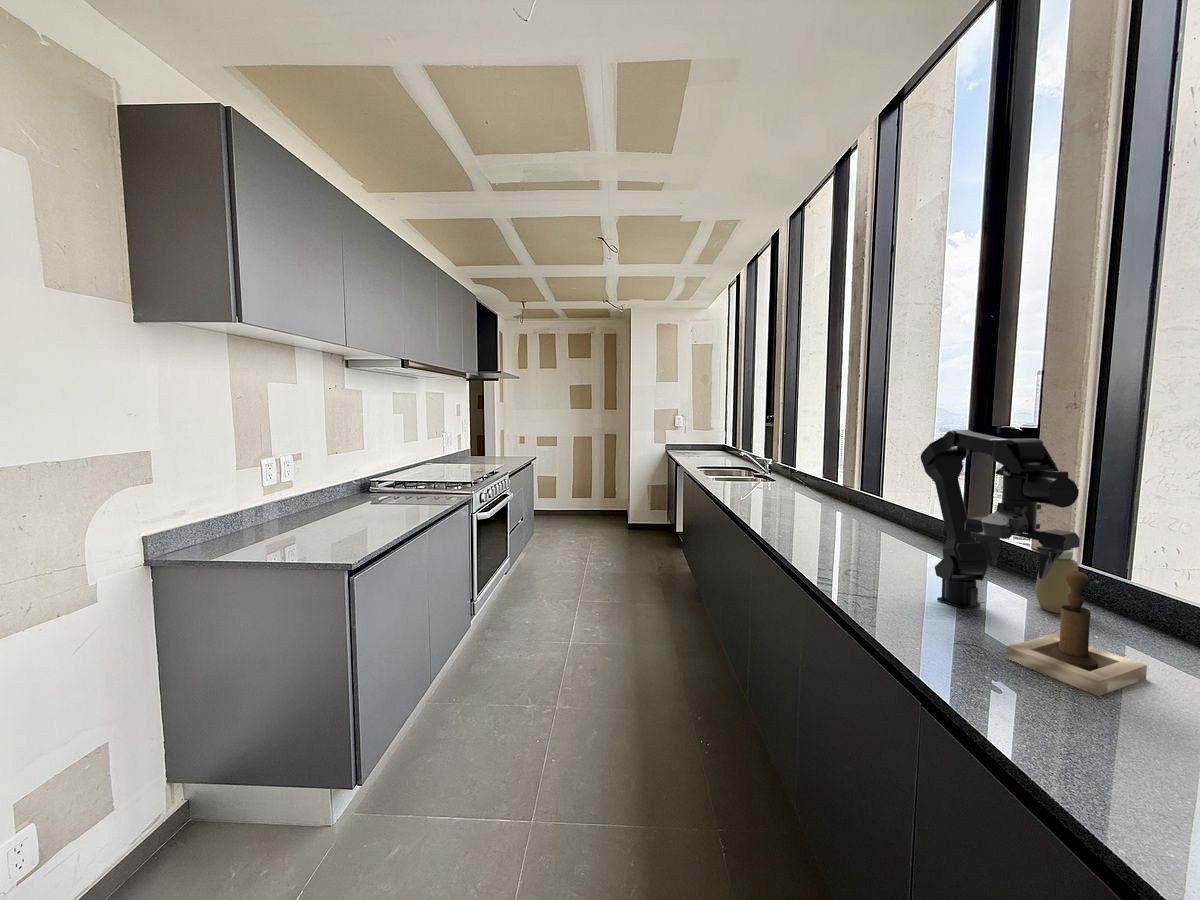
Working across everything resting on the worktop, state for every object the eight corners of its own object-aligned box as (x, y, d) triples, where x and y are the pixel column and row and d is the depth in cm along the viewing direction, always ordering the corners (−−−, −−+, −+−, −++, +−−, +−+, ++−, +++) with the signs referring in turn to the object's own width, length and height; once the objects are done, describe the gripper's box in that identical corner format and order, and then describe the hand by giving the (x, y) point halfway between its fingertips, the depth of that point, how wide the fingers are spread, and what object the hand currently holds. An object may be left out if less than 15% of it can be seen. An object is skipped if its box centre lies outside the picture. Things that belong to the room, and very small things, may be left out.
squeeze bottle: (1070, 619, 116) (1074, 540, 115) (1027, 607, 124) (1030, 533, 122) (1086, 612, 120) (1090, 535, 119) (1043, 601, 127) (1047, 528, 126)
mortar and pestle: (1042, 665, 96) (1046, 569, 95) (1057, 656, 100) (1062, 564, 98) (1089, 680, 91) (1094, 579, 89) (1103, 671, 94) (1109, 573, 92)
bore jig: (1006, 659, 99) (1006, 646, 99) (1052, 645, 104) (1053, 633, 104) (1098, 696, 86) (1099, 681, 86) (1146, 679, 91) (1146, 665, 91)
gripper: (948, 495, 114) (946, 565, 115) (1046, 509, 97) (1043, 591, 98) (982, 491, 118) (980, 559, 119) (1083, 504, 101) (1079, 583, 102)
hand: (1016, 572), depth 109 cm, fingers open, 9 cm apart
